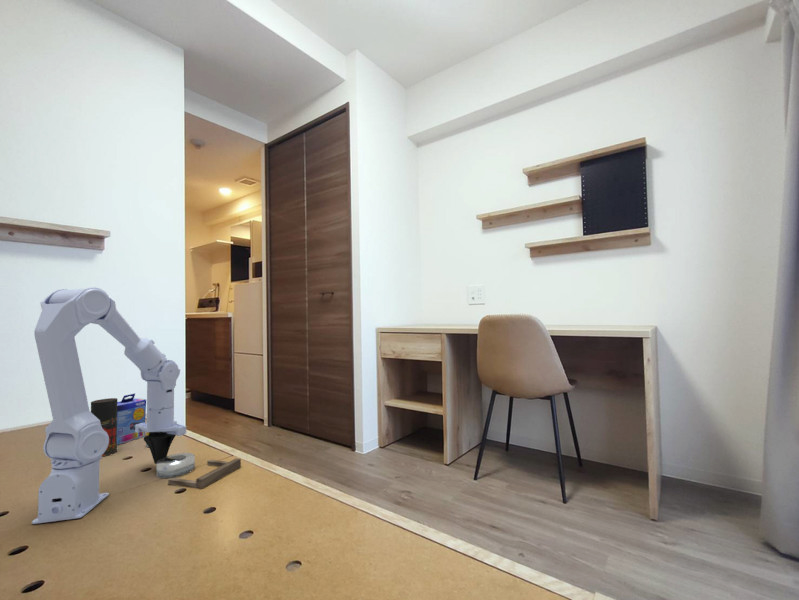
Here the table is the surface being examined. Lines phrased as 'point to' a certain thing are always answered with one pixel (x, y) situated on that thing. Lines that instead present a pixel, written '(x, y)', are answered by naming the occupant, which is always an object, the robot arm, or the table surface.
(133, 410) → the ink cartridge box
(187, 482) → the cradle
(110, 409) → the deodorant
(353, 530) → the table surface
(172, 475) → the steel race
